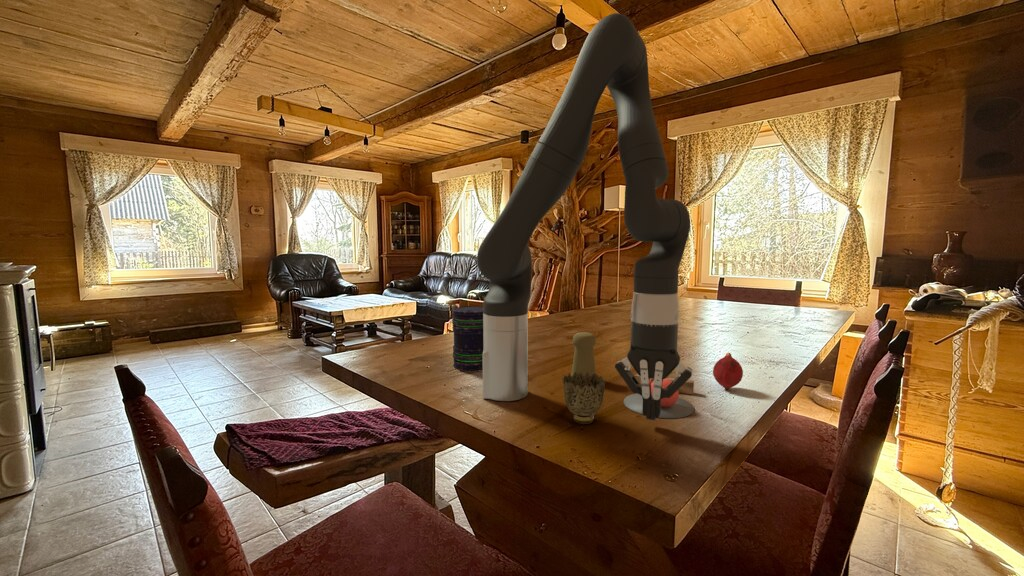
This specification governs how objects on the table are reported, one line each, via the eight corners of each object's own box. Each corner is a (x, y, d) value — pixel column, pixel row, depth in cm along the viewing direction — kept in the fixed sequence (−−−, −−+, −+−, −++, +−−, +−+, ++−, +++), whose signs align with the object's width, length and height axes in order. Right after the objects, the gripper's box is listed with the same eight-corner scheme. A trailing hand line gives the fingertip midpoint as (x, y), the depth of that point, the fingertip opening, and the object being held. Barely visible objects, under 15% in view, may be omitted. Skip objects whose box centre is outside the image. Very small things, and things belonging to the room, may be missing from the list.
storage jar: (457, 360, 117) (456, 305, 116) (493, 361, 116) (493, 306, 115) (448, 371, 107) (447, 311, 106) (487, 372, 106) (487, 312, 105)
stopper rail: (693, 392, 92) (693, 380, 92) (693, 394, 90) (693, 382, 90) (635, 384, 97) (635, 373, 97) (634, 386, 95) (634, 375, 95)
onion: (745, 394, 90) (747, 357, 90) (716, 392, 92) (718, 355, 91) (737, 385, 96) (739, 350, 95) (709, 383, 97) (711, 349, 96)
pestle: (567, 381, 99) (568, 334, 98) (573, 374, 105) (574, 329, 104) (593, 384, 97) (594, 336, 96) (598, 377, 102) (599, 331, 101)
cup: (558, 413, 80) (559, 371, 79) (597, 412, 81) (598, 370, 80) (567, 431, 73) (567, 385, 72) (609, 429, 74) (610, 383, 73)
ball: (659, 401, 87) (658, 417, 83) (643, 380, 87) (641, 394, 82) (684, 390, 85) (684, 406, 80) (668, 368, 84) (667, 383, 80)
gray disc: (634, 418, 78) (634, 417, 78) (616, 393, 91) (616, 392, 91) (706, 418, 78) (706, 417, 78) (678, 393, 91) (678, 392, 91)
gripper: (697, 318, 73) (693, 417, 75) (619, 313, 79) (616, 405, 81) (696, 326, 67) (691, 434, 68) (610, 319, 72) (607, 419, 74)
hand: (651, 418), depth 74 cm, fingers closed
